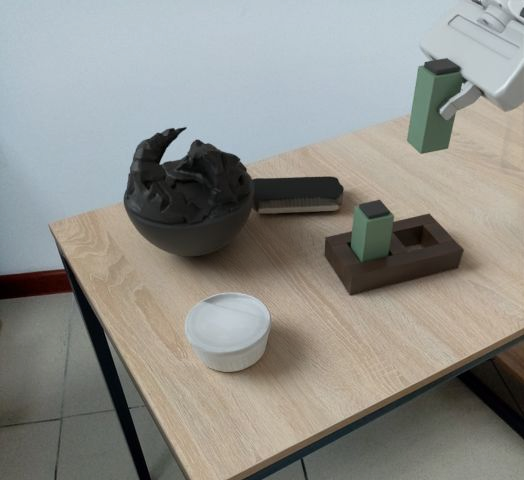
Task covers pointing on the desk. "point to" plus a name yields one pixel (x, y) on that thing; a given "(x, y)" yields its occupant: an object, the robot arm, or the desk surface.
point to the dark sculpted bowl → (187, 196)
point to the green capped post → (433, 105)
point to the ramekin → (228, 330)
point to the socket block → (395, 255)
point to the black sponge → (297, 194)
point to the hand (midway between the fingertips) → (430, 107)
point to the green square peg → (371, 231)
